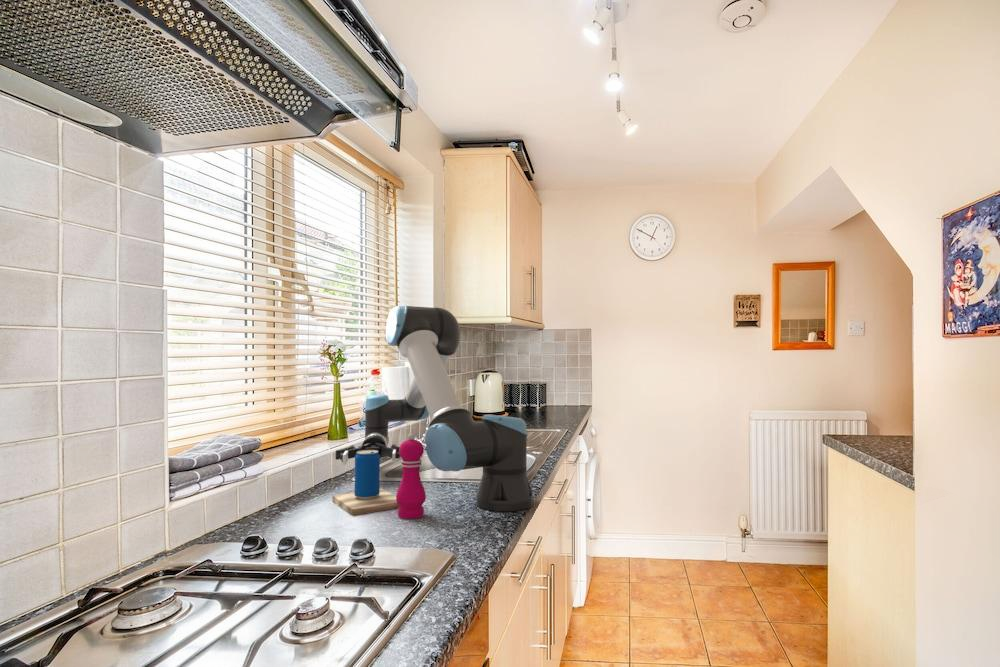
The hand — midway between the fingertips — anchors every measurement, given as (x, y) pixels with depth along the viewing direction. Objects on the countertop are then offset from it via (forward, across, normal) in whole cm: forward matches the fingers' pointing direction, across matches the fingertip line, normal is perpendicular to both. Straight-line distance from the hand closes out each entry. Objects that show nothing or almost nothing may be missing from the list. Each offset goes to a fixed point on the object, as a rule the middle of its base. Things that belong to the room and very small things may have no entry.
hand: (368, 459), depth 156 cm
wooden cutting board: (+9, -1, -10) cm, 13 cm away
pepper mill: (+21, -12, -10) cm, 26 cm away
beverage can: (+8, 0, -9) cm, 12 cm away
